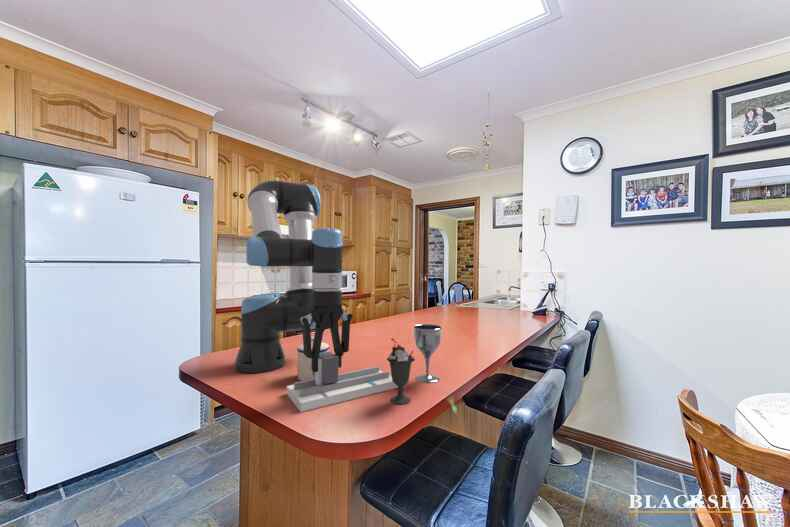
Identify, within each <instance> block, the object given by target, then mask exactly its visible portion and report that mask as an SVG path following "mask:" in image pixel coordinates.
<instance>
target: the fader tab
mask: <svg viewBox="0 0 790 527" xmlns="http://www.w3.org/2000/svg"><path fill="white" fill-rule="evenodd" d="M334 354H335V353H332V352H331V351H330V352H324V353H319V358H321V359H322V385H324V384H329V383H334V382H337V381H338V374H339V368H338V357H337V356H336V355H334Z"/></svg>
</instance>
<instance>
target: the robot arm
mask: <svg viewBox="0 0 790 527" xmlns="http://www.w3.org/2000/svg"><path fill="white" fill-rule="evenodd" d="M246 202H247V207H248V211H249V212H250V213H251V225H252V237H248V238H247V239H246V245H245V248H246V250H245V251H246V253H245V254H246V255H245V256H246V264H247V265H249V266H250V267H251V266H252V267H262V268H264V267H289V284H290V285H289V288H288V289H287V290H286V291H285V296H281V293H280V292H268V293H267V292H265V293H261V294H260V293H259V294H255V295H250V296H246V297H245V298H243V300H242V302H241V310H240V315H241V318H240V319H241V320H240V321H241V326H240V328H241V329H240V330H241V332H240V339H241V340H240V346H239V349H238V353H237V355H236V358H235V361H234V370H235V371H236V372H239V373H243V374H244V373H245V374H246V373H247V374H250V373H251V374H257V373H258V374H259V373H265V372H271V371H276V370H277V369H280V368H281V367H284V366H285V365H286V355H285V352H284V349H283V346H282V344H281V340H280V339H281V334H280V333H281V332H282V333H283V332H296V331H302V344H303V348H304V355H305V356H306V357H307V358H311V359H312V371H313V372H315V383H316V384H317V385H318V386H319V385H322V359H321V358H319V353H320V348H321V342H323V335H324V332H325V328H328V327H329V330H330V335H331V341H332V346H333V352H334V353H333V354H334V355H336V356H337V357H338V369H341V368H342V363H343V362H342V358H343V356H344V354H345V353H347V352H349V350H350V349H349V348H350V335H351V334H350V332H351V322H352V319H353V317H354V316H353V314H352V313H349V312H345V311H344V309H343V306H342V305H343V292H342V290H341V289H342V288H343V245H344V242H343V234H342V231H341V230H340V229H339V228H329V227H328V228H326V227H322V228H321V227H319V228H315V229H313V227H314V226H313V223H314V222H315V221H316V220H317V217H319V215H320V213H321V204H322V203H321V202H322V201H321V195H320V192H319V190H318V188H317V187H316V186H315V185H312V184H307V183H298V182H290V181H280V180H273V179H272V180H267V181H262V182H261V183H259V184H257V185H256V186H254V187H253V188H252V189H251V190H250V192H249V194H248V196H247V201H246ZM278 214H283V220H284V221H286V223H288V238H283V234H282V231H281V226H280V220H279V216H278ZM340 320H342V323H341V336H340V331H339V330H340V329H339V321H340ZM314 329H315V331H314V336H313V337H314V341H313V346H312V351H311V337H312V334H311V333H312V332H311V330H314ZM340 337H341V338H340ZM337 382H338V381H337Z"/></svg>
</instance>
